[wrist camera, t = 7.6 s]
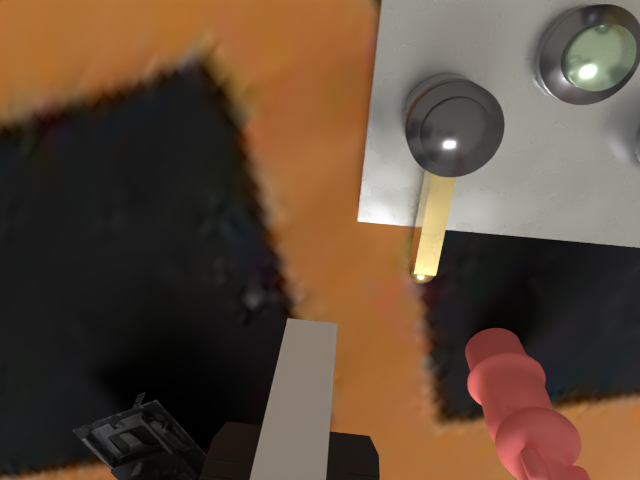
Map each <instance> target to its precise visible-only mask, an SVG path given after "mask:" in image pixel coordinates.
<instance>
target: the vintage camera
mask: <svg viewBox="0 0 640 480" xmlns="http://www.w3.org/2000/svg"><path fill="white" fill-rule="evenodd" d="M144 396H145V392H144V393H141V394H139V395H138V396H137V398H136V400H135V403H134V405H133V407H132V409H130V410H127V411H124V412H121V413H118V414H115V415H113V416H110V417H107V418H104V419H101V420H98V421H95V422H92V423H90V424H87V425H84V426H81V427H79V428H76V429H73V432H74V433H75V434H76V435H77V436H78V437H79V438H80V439H81V440H82V441H83V442H84V443H85V444H86V445H87V446H88V447H89V448H90V449H91V450H92V451H93V452H94V453H95V454H96V455H97V456H98V457H99V458H100V459H101V460H102V461H103V462H104V463H105V464H106V465H107V466H108V467H109V468H110V469H111V473H112V474H113V475H114V476H115V477H116V478H117V479H118V480H199V479H200V474H201V471H202V468H203V465H204V462H205V461H206V457H207V455H206V454H205V453H204V452H203V451H202V449H201V448H200V447H199V446H198V445H197V444H196V443H195V442H194V440H193V439H192V438H191V437H190V436H189V435H188V434H187V433H186V432H185V431H184V429H183V428H182V427H181V426H180V425H179V424H178V423H177V422H176V421H175V419H174V418H173V417H172V416H171V415H170V414H169V413H168V412H167V411H166V409H165V408H164V407H163V406H162V405H161V404H160V403H159V401H158V400H154V401H151V402H149V403H146V404H144V405H141V401H142V400H143V398H144ZM140 405H141V406H140Z"/></svg>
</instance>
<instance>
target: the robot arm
mask: <svg viewBox="0 0 640 480" xmlns="http://www.w3.org/2000/svg"><path fill="white" fill-rule="evenodd" d="M336 337H337V323H328V322H319V321H309V320H299V319H289V318H288V320H287V324H286V328H285V333H284V337H283V341H282V345H281V349H280V354H279V358H278V362H277V366H276V370H275V375H274V379H273V383H272V387H271V391H270V396H269V400H268V404H267V408H266V413H265V417H264V421H263V425H255V424H246V423H237V422H228V421H227V422H226V423H225V425H224V426H223V427H222V428H221V429H220V430H219V432H218V433H217V434H216V435H215V436H214V437H213V439H212V442H211V445H210V448H209V451H208V454H207V457H206V461H205V462H204V465H203V468H202V471H201V474H200V479H199V480H379V477H380V475H379V455H378V453H377V451H376V449H375V447H374V445H373V442H372V440H371V438H370V436H365V435H356V434H347V433H338V432H330V419H331V405H332V391H333V378H334V364H335V350H336Z"/></svg>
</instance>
